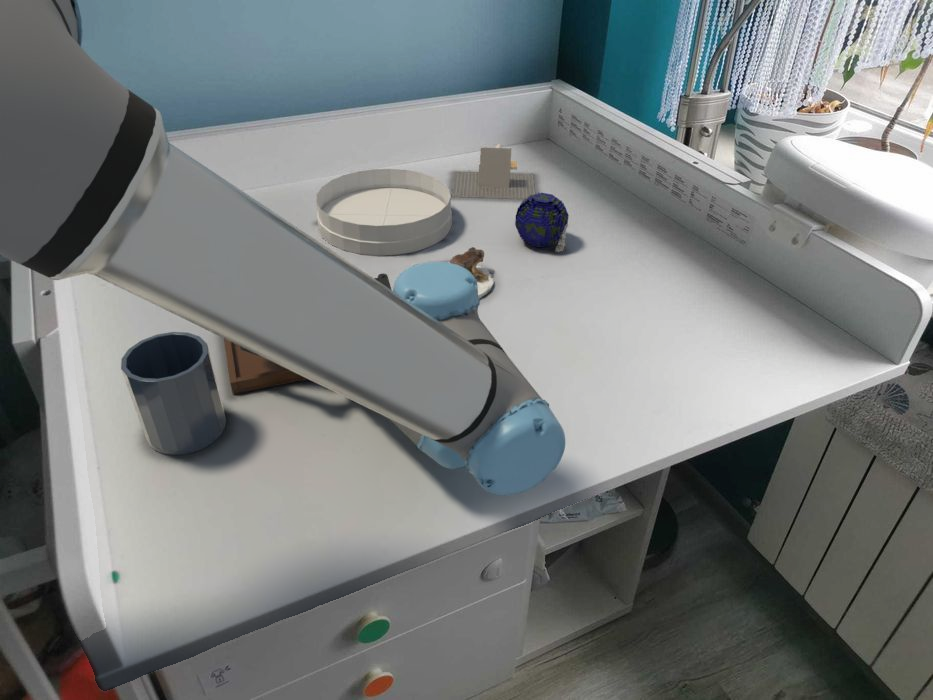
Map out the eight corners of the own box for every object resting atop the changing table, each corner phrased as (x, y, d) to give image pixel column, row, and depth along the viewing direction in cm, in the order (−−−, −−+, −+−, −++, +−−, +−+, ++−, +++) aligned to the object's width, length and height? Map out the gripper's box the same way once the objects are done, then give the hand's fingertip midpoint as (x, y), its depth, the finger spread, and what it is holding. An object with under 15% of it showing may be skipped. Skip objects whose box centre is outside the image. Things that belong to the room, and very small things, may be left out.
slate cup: (146, 462, 72) (119, 388, 66) (146, 412, 78) (122, 340, 72) (229, 444, 74) (210, 371, 68) (222, 396, 80) (205, 326, 74)
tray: (232, 394, 81) (230, 383, 80) (221, 313, 94) (218, 303, 93) (396, 361, 86) (395, 350, 85) (363, 289, 100) (362, 279, 98)
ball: (571, 236, 114) (576, 192, 109) (558, 257, 108) (563, 212, 103) (524, 227, 116) (527, 184, 111) (509, 247, 110) (512, 203, 106)
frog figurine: (457, 253, 109) (457, 230, 106) (511, 283, 102) (513, 260, 99) (398, 277, 102) (397, 254, 100) (453, 312, 95) (453, 288, 93)
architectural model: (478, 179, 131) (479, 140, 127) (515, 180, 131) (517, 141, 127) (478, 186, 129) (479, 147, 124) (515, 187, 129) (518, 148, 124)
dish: (450, 257, 107) (450, 227, 104) (306, 254, 107) (302, 225, 104) (452, 196, 125) (453, 169, 122) (329, 193, 125) (326, 167, 122)
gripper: (281, 439, 71) (196, 342, 84) (468, 349, 84) (370, 277, 97) (270, 383, 67) (182, 289, 79) (469, 296, 80) (366, 228, 92)
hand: (285, 282), depth 88 cm, fingers open, 13 cm apart
